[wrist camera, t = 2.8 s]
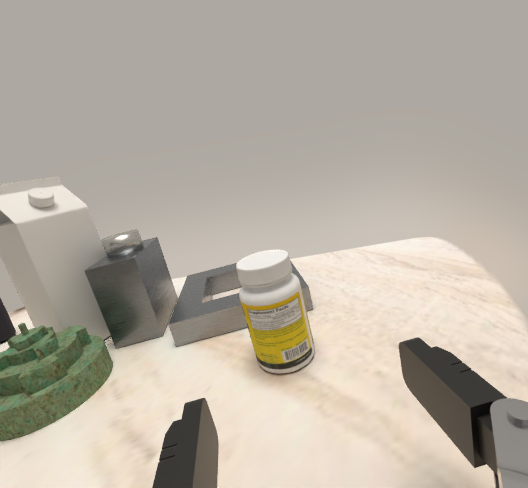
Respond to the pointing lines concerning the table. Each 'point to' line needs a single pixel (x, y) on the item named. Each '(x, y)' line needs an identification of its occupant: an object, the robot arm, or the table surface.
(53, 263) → the milk carton
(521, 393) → the table surface
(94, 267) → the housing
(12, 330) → the two-way radio
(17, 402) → the decorative artifact
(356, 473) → the table surface
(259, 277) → the supplement bottle
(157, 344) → the table surface
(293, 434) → the table surface
